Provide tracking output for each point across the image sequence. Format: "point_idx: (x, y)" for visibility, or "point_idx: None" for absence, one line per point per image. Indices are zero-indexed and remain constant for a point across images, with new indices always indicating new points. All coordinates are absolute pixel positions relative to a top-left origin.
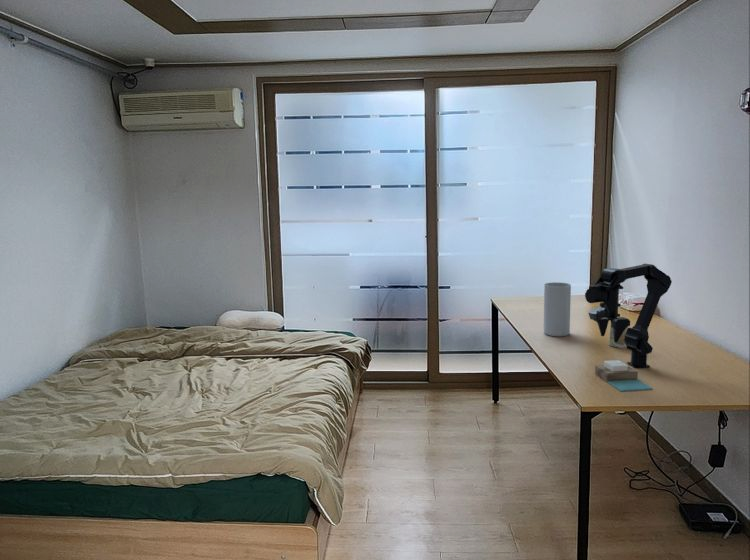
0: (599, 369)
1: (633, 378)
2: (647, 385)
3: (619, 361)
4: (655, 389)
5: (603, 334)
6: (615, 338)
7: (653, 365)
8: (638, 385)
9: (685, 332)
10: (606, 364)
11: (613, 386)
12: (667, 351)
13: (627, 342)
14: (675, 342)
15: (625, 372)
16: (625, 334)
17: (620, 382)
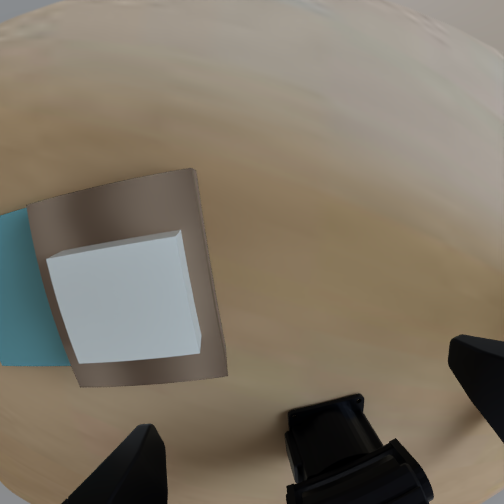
0: (126, 180)
1: None
2: (23, 364)
3: (164, 348)
4: (9, 374)
5: (461, 368)
6: (109, 463)
7: None
8: (14, 330)
9: (494, 493)
10: (134, 240)
11: (4, 214)
12: None
13: (376, 475)
14: (466, 492)
15: (54, 320)
16: (422, 499)
17: (35, 264)
